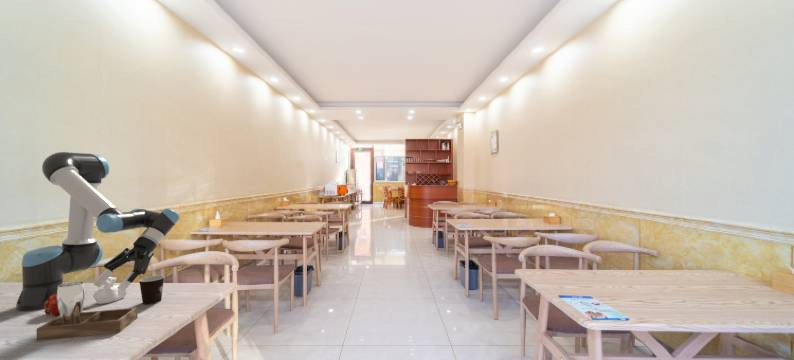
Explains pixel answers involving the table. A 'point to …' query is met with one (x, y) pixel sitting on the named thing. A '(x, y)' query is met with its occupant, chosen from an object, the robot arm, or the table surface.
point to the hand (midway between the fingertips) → (108, 287)
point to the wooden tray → (89, 324)
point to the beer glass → (71, 302)
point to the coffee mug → (151, 289)
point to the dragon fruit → (51, 306)
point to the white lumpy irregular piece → (109, 292)
